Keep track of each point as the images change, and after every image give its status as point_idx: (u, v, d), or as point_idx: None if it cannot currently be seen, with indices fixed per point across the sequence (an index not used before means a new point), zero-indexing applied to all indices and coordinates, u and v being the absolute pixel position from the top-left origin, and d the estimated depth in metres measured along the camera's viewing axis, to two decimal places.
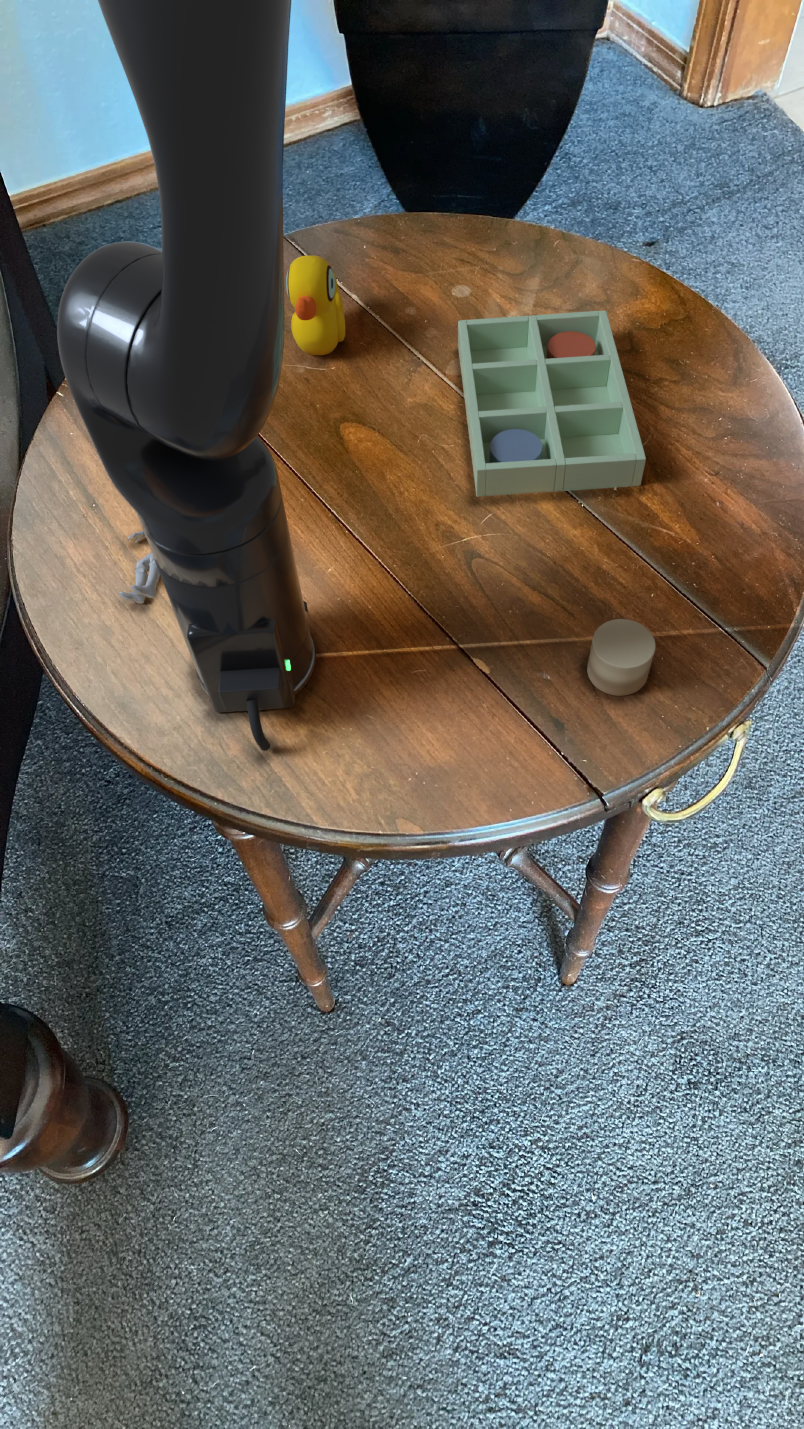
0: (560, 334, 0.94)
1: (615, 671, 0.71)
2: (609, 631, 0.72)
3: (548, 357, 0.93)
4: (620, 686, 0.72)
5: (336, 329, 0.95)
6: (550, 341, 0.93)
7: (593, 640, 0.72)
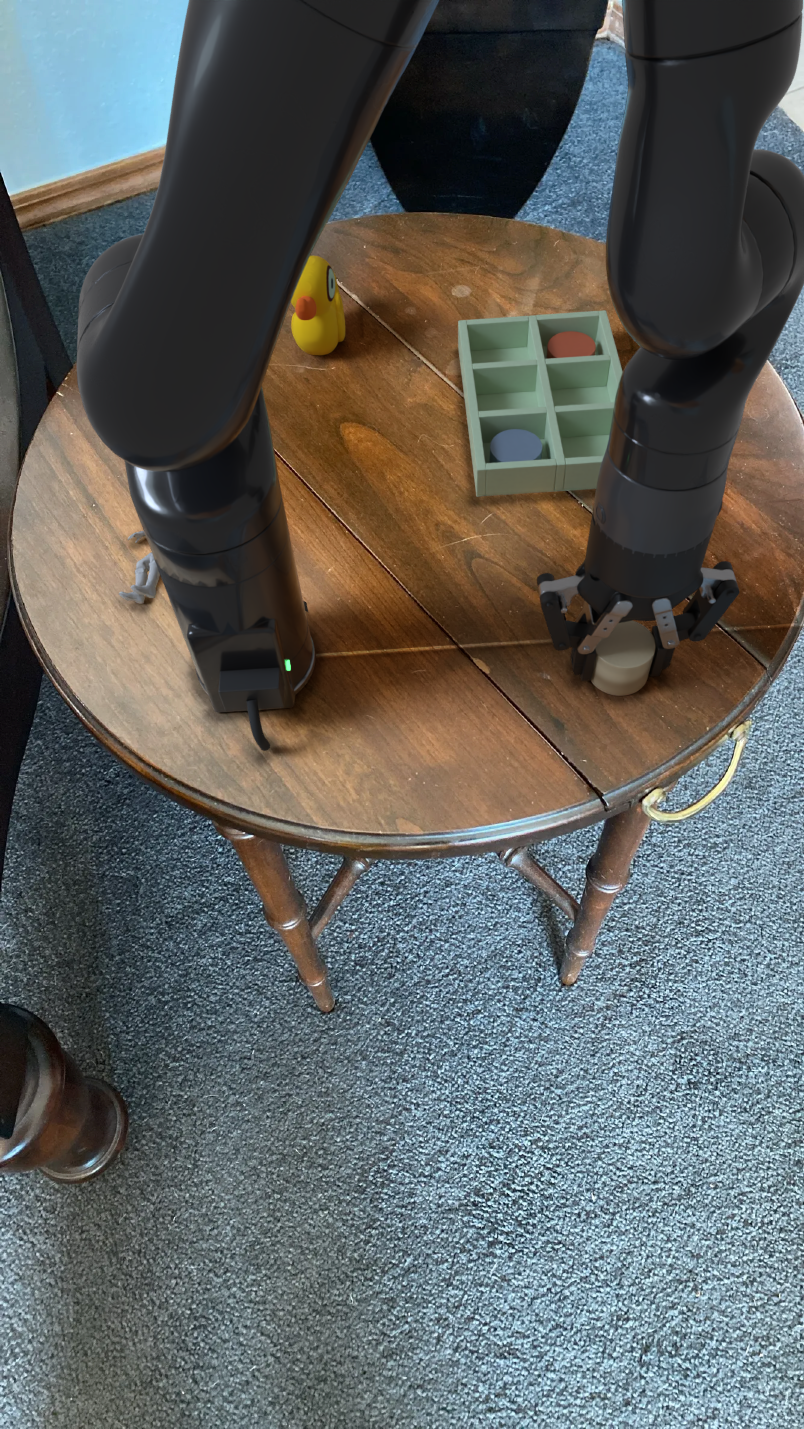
0: (560, 334, 0.94)
1: (615, 671, 0.71)
2: None
3: (548, 357, 0.93)
4: (620, 686, 0.72)
5: (336, 329, 0.95)
6: (550, 341, 0.93)
7: None
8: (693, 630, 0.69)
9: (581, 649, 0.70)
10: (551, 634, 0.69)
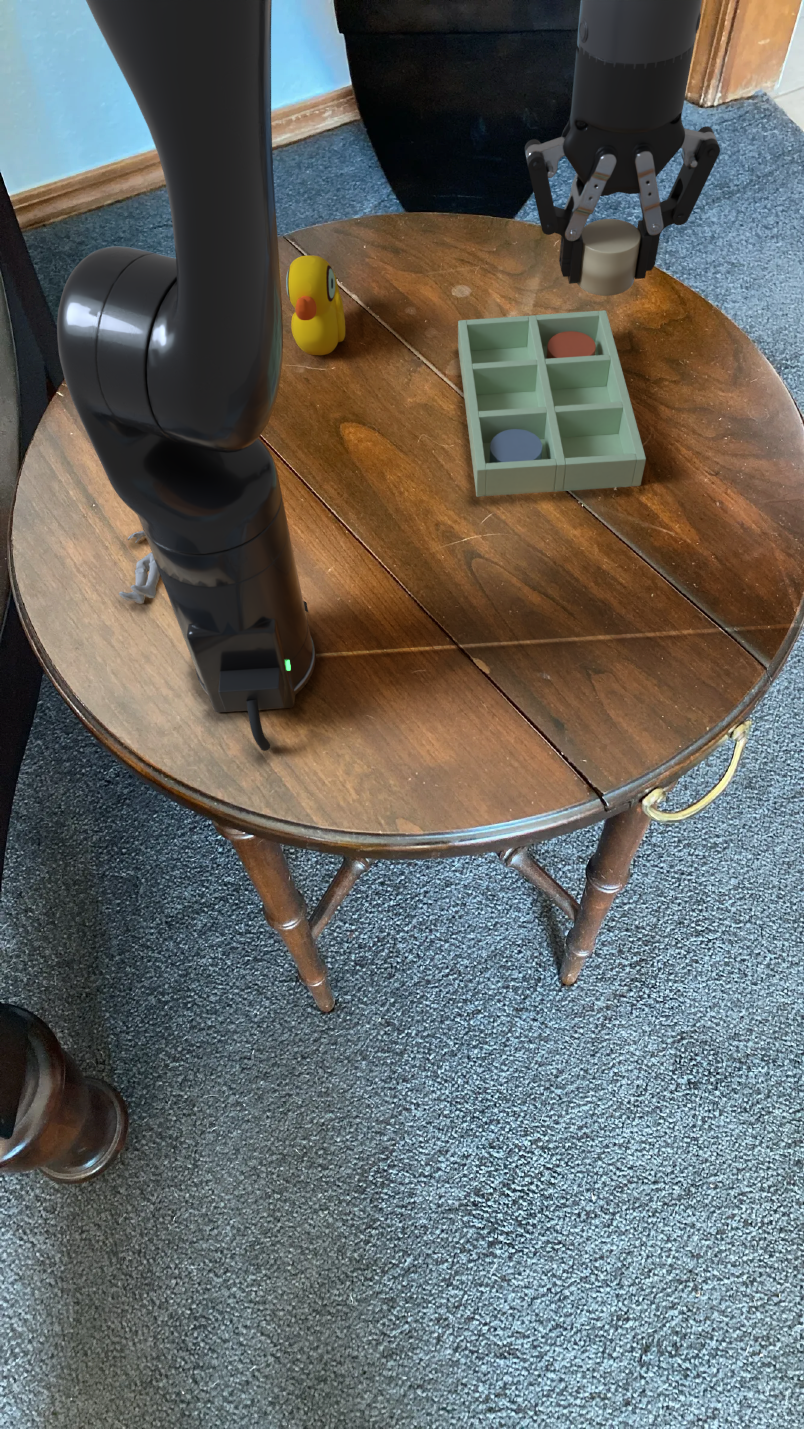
0: (560, 334, 0.94)
1: (601, 259, 0.73)
2: (596, 227, 0.75)
3: (548, 357, 0.93)
4: (607, 281, 0.75)
5: (336, 329, 0.95)
6: (550, 341, 0.93)
7: None
8: (676, 208, 0.71)
9: (568, 233, 0.73)
10: (539, 209, 0.71)
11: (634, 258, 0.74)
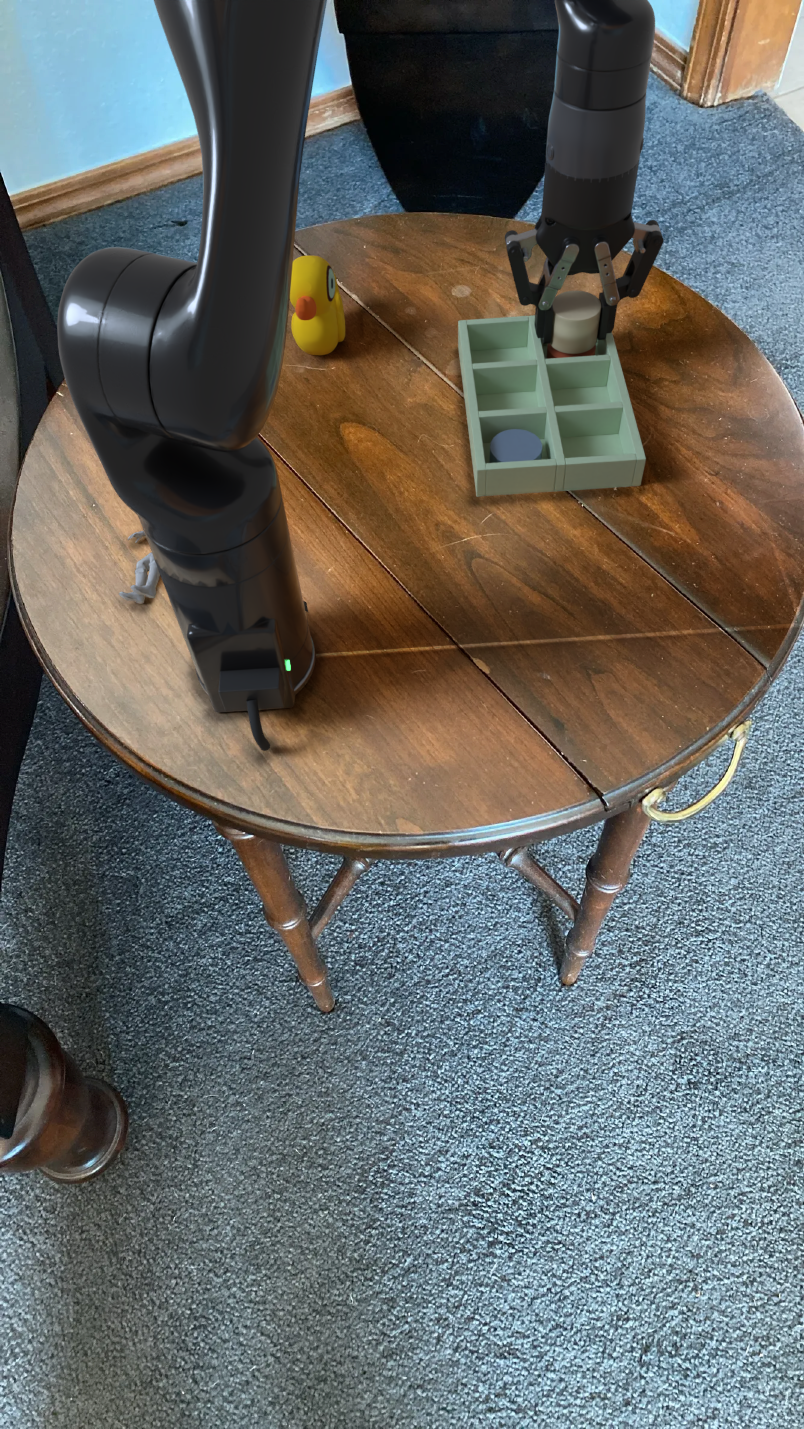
0: None
1: (568, 325, 0.89)
2: (564, 298, 0.90)
3: (548, 357, 0.93)
4: (574, 342, 0.90)
5: (336, 329, 0.95)
6: None
7: None
8: (629, 284, 0.87)
9: (541, 304, 0.88)
10: (516, 286, 0.86)
11: (596, 323, 0.89)
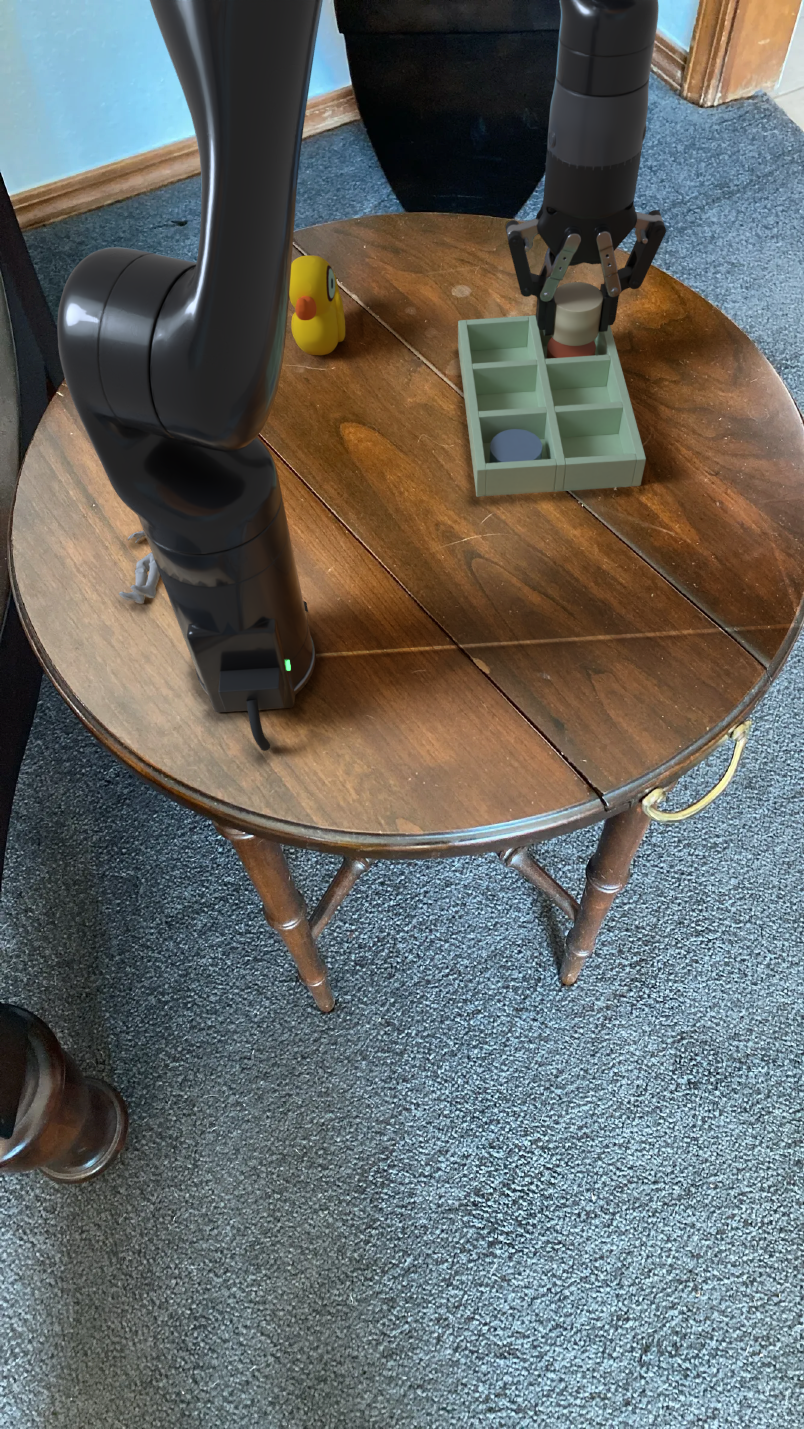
0: None
1: (570, 316, 0.88)
2: (566, 289, 0.89)
3: (548, 357, 0.93)
4: (575, 334, 0.89)
5: (336, 329, 0.95)
6: (550, 341, 0.93)
7: None
8: (631, 275, 0.86)
9: (542, 295, 0.87)
10: (518, 276, 0.85)
11: (598, 315, 0.89)
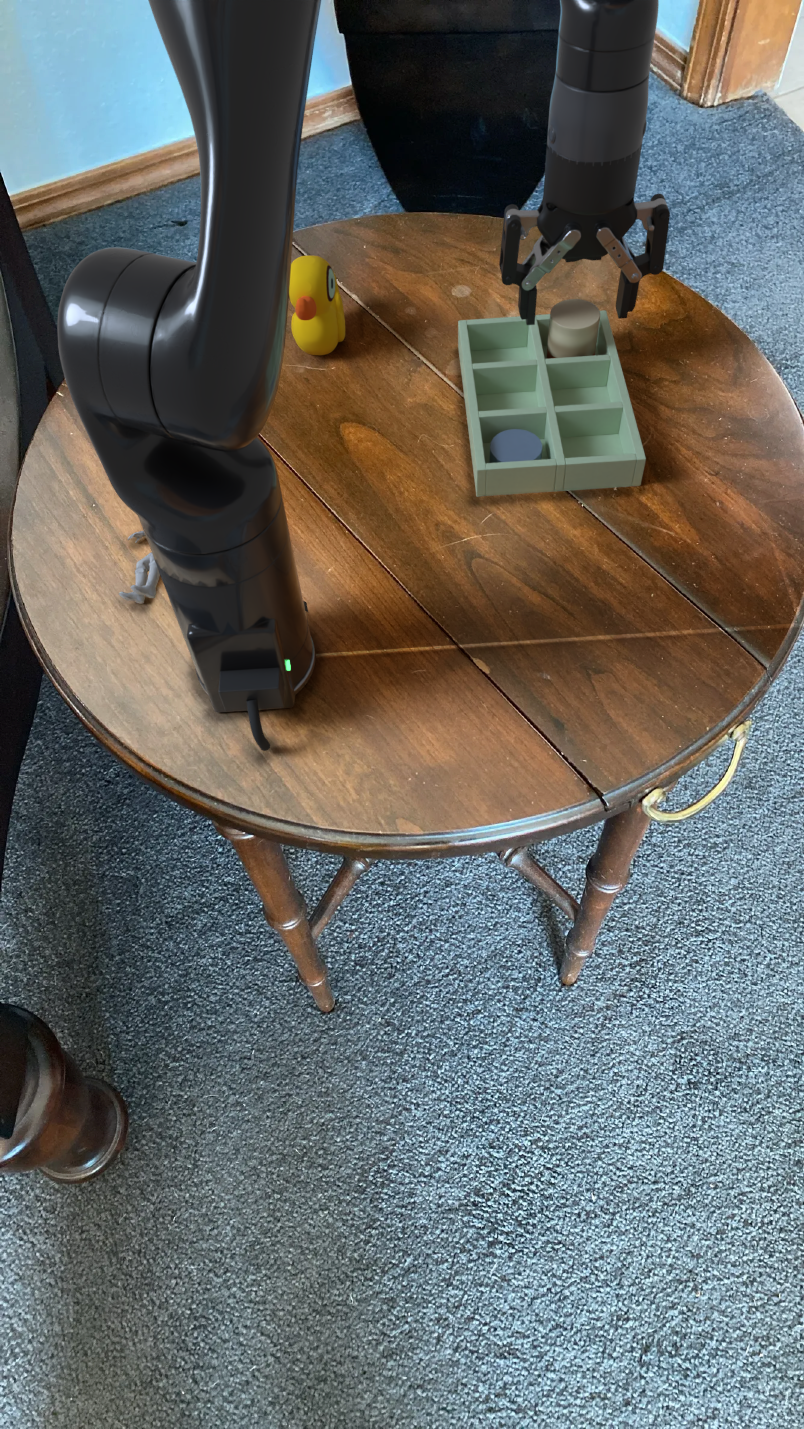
0: None
1: (567, 333, 0.89)
2: (564, 306, 0.91)
3: (548, 357, 0.93)
4: (573, 350, 0.91)
5: (336, 329, 0.95)
6: None
7: (551, 312, 0.90)
8: (652, 261, 0.85)
9: (524, 284, 0.86)
10: (504, 262, 0.84)
11: (595, 332, 0.90)
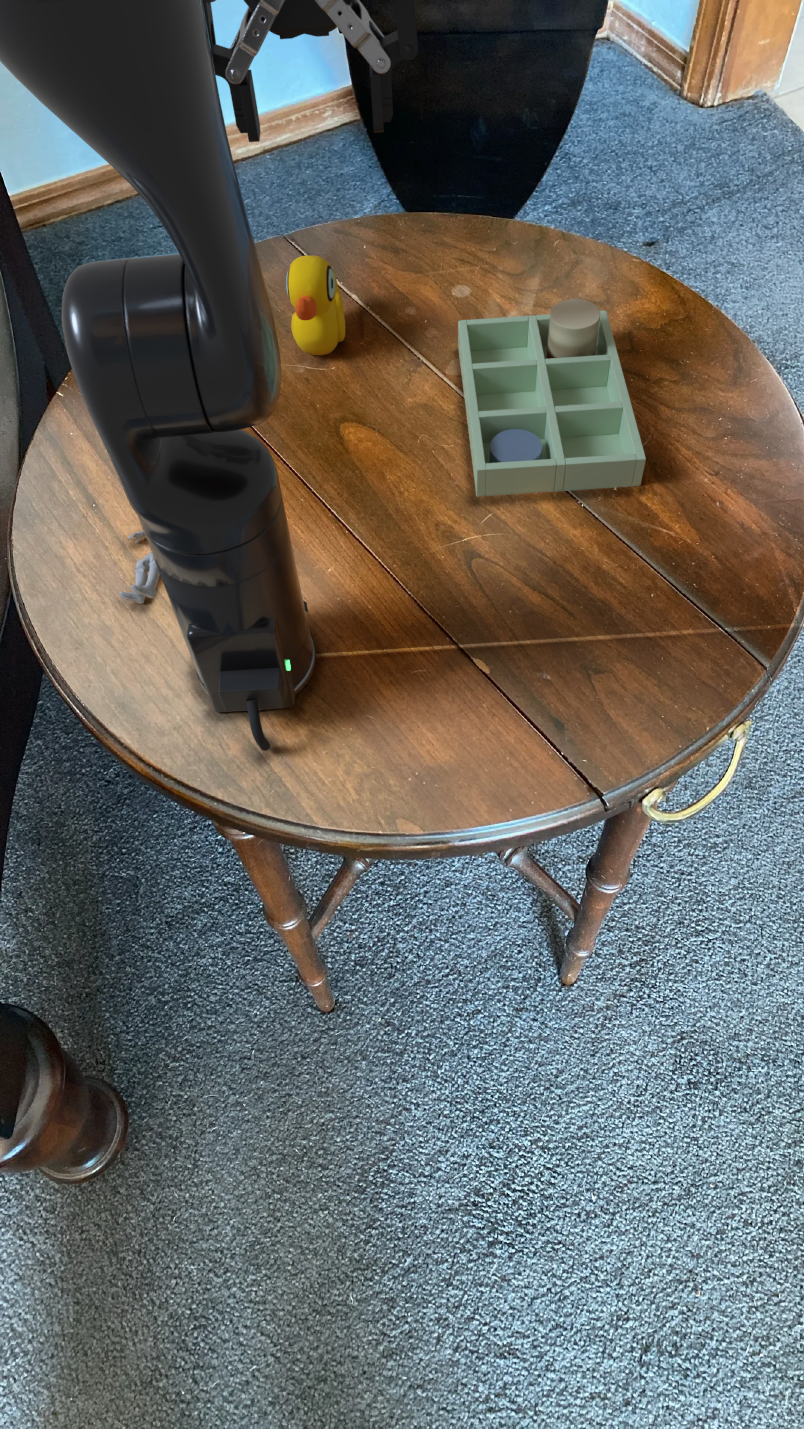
0: None
1: (567, 333, 0.89)
2: (564, 306, 0.91)
3: (548, 357, 0.93)
4: (573, 350, 0.91)
5: (336, 329, 0.95)
6: None
7: (551, 312, 0.90)
8: (401, 38, 0.61)
9: (229, 74, 0.62)
10: None
11: (595, 332, 0.90)
